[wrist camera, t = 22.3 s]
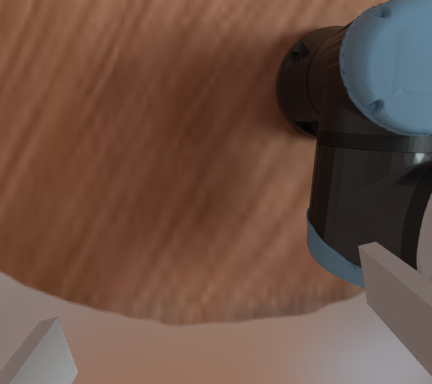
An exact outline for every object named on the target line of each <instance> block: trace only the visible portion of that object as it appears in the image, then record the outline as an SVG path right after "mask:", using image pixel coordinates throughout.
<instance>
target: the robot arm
mask: <svg viewBox="0 0 432 384" xmlns="http://www.w3.org/2000/svg"><path fill="white" fill-rule="evenodd" d="M276 93H277V100H278V103H279V107H280V109H281V111H282V113H283V115H284V117H285V118H286V120H287V121H288V122H289V123H290V124H291V125H292V126H293V127H294V128H295V129H296V130H298V131H299V132H301V133H303V134H305V135H307V136H310V137H313V138H317V143H316V151H315V160H314V169H313V178H312V188H311V197H310V206H309V208H308V210H307V215H306V218H307V224H308V228H307V245H308V247H309V251H310V253H311V255H312V256H313V258H314V259H315V260H316V261H317V262H318V263H319V264H320V265H321V266H322V267H323V268H324V269H326V270H327V271H329V272H330V273H332V274H333V275H335V276H337V277H339V278H341V279H343V280H345V281H347V282H349V283H352V284H354V285H357V286H360V287H364V288H365V291H366V297H367V303H368V305H369V306H370V307H371V308H372V309H373V310H374V312H375V313H376V314H377V315H378V316H379V317H380V318H381V320H382V321H383V322H384V323H385V324H386V325H387V326H388V327H389V328H390V330H391V331H392V332H393V333H394V334H395V335H396V336H397V338H398V339H399V340H400V341H401V342H402V343H403V344H404V346H405V347H406V348H407V349H408V350H409V351H410V352H411V353H412V354H413V356H414V357H415V358H416V359H417V360H418V361H419V363H420V364H421V365H422V366H423V367H424V368H425V369H426V370H427V371H428V373H429V374H430V375H431V376H432V0H389V1H387V2H385V3H381V4H378V6H373V7H371V8H369V9H367V10H366V11H364V12H363V13H362V14H361V15H360V16H358V17H357V18H356V19H355V20H354V21H352V22H351V23H349V24H348V25H346V26H330V27H325V28H321V29H318V30H316V31H313V32H311V33H310V34H308V35H306V36H305V37H303V38H302V39H301V40H300V41H298V42H297V43H296V44H295V45H294V46H293V47H292V48H291V49H290V50H289V52H288V53H287V54H286V56H285V58H284V59H283V61H282V63H281V66H280V68H279V72H278V76H277V82H276ZM77 373H78V371H77V368H76V366H75V363H74V360H73V357H72V355H71V352H70V349H69V347H68V344H67V341H66V339H65V336H64V333H63V330H62V328H61V325H60V322H59V320H58V318H52V319H48V320H45V321H41V322H39V324H38V325H37V326H36V328H35V329H34V330H33V331H32V332H31V334H30V335H29V336H28V337H27V339H26V340H25V341H24V342H23V344H22V345H21V346H20V347H19V349H18V350H17V351H16V353H15V354H14V355H13V356H12V358H11V359H10V360H9V361H8V363H7V364H6V365H5V366H4V368H3V369H2V370H1V371H0V384H72V383H73V381H74V379H75V377H76V374H77Z"/></svg>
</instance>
